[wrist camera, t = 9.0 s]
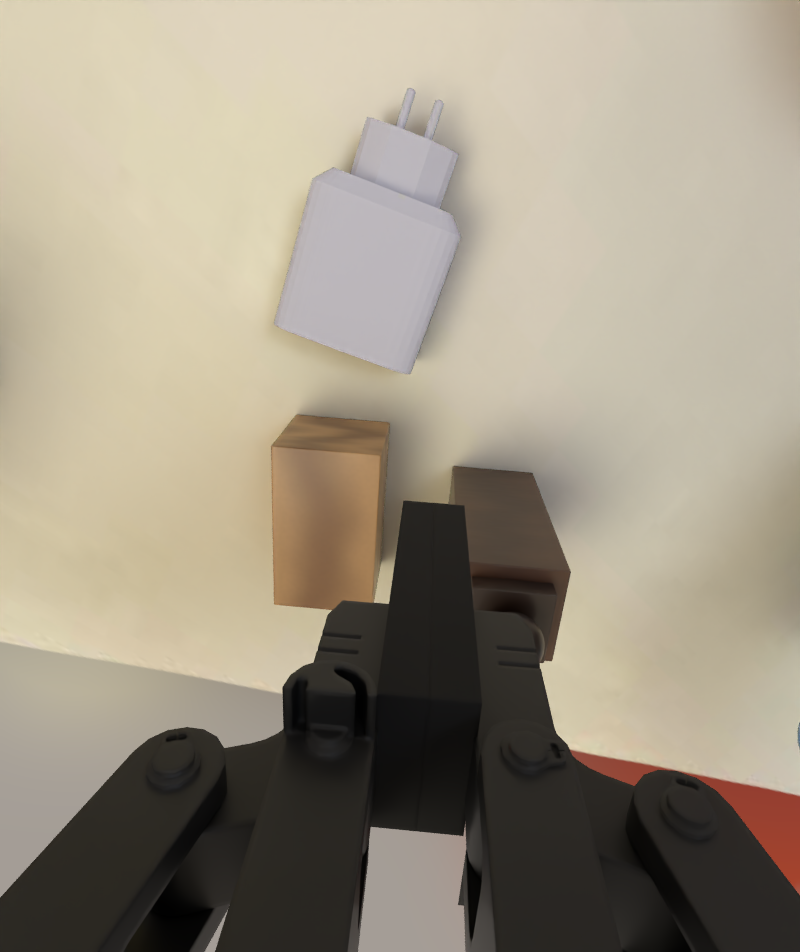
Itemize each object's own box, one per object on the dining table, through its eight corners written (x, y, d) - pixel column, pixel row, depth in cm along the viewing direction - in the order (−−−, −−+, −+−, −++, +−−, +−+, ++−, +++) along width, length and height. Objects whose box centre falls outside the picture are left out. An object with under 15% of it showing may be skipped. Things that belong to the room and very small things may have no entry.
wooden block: (389, 422, 43) (381, 455, 37) (381, 562, 48) (371, 614, 41) (296, 414, 43) (270, 445, 37) (296, 555, 48) (273, 604, 41)
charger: (497, 132, 36) (412, 362, 41) (354, 74, 35) (288, 316, 41) (505, 118, 31) (409, 377, 37) (342, 51, 31) (269, 326, 36)
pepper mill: (502, 457, 46) (696, 556, 33) (492, 524, 49) (670, 641, 36) (350, 483, 40) (518, 621, 27) (347, 560, 42) (500, 721, 29)
